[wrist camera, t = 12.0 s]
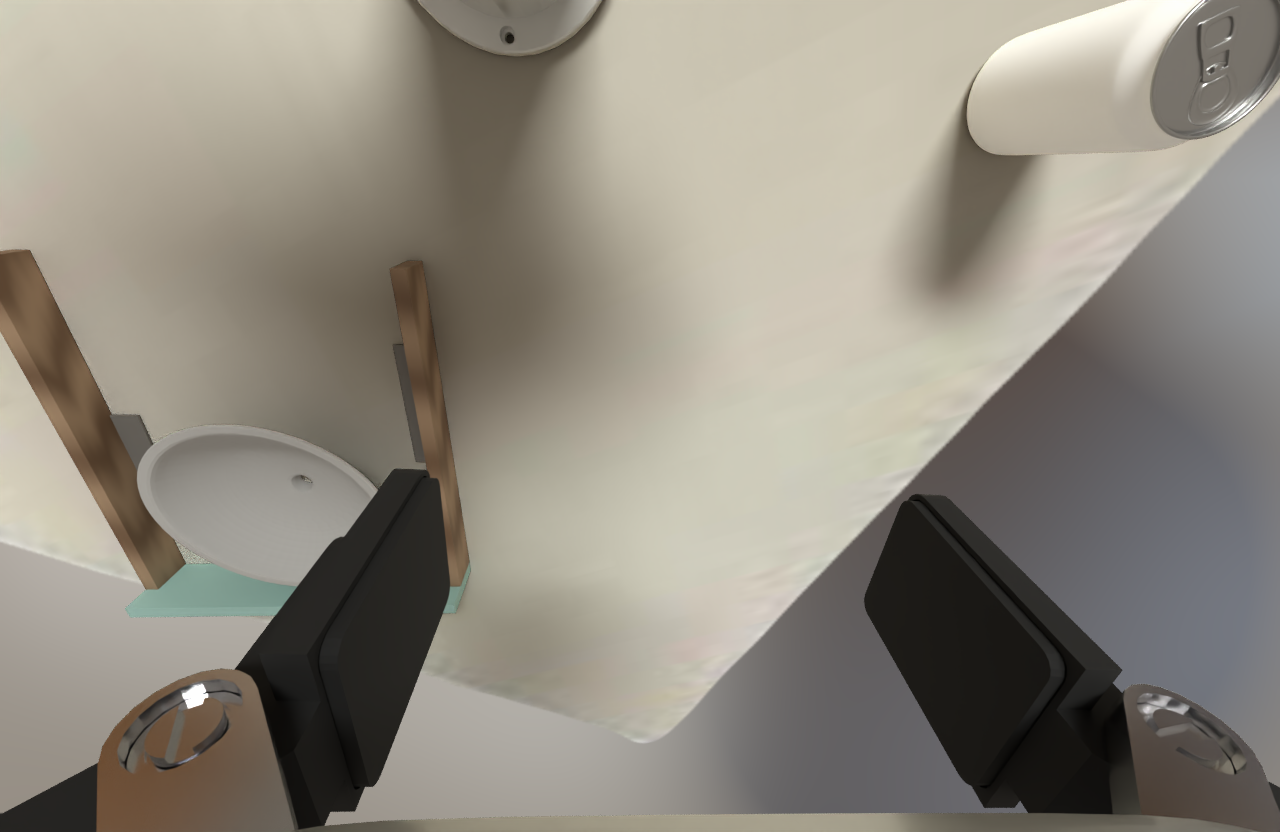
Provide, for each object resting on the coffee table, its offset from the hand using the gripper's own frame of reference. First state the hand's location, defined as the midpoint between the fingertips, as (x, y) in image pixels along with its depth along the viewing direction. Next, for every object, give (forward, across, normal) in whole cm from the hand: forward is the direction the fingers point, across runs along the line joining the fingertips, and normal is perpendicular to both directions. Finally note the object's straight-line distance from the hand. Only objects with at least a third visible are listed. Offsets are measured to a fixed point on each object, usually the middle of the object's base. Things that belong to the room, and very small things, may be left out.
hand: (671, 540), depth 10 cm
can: (+28, -23, -13) cm, 38 cm away
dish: (+28, +25, +18) cm, 42 cm away
